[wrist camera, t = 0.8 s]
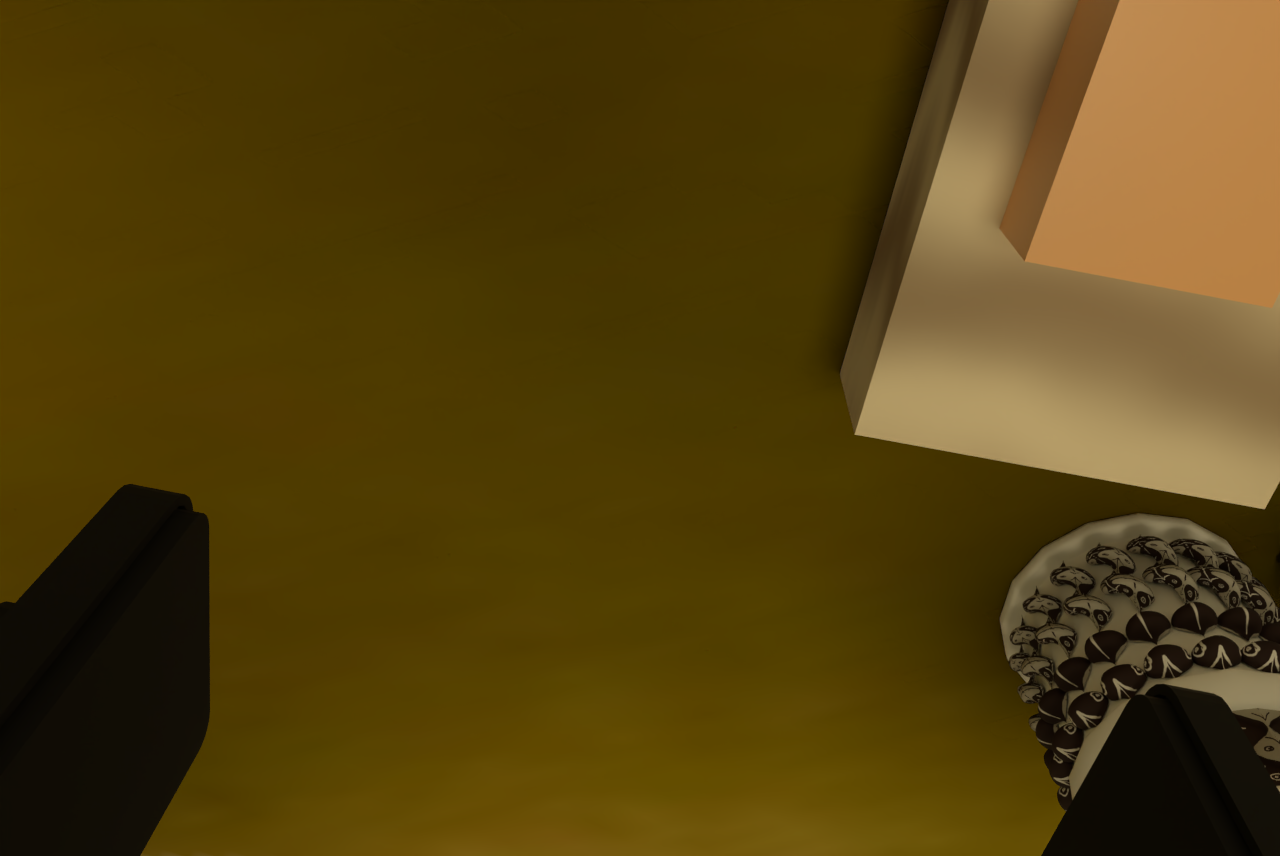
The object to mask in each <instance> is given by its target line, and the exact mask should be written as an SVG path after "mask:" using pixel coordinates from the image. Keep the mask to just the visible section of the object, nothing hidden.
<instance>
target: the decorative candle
mask: <svg viewBox="0 0 1280 856" xmlns="http://www.w3.org/2000/svg"><path fill="white" fill-rule="evenodd" d="M999 619H1000V625H1001V631H1002V637H1003V642H1004V648H1005V654H1006V657H1007V659H1008V661H1009V666H1010V667H1011V669H1013V670H1014V671H1017V672H1018V673H1019V674H1020V676H1021V677H1022V678H1023V679H1024V681H1025V682H1026V683H1024V684H1021V685H1020V686H1019V687H1018V693H1019V695H1020V697H1021V699H1022V700H1023V701H1024V702H1025V703H1029V704H1031V703H1035V702H1036V703H1039V705H1038V711H1039V713H1038V714H1036V715H1033V716H1031V717H1030V719H1029V724H1030V727H1031V728H1032V729H1033V730H1034V731H1036V736H1037V739H1038V740H1039V742H1040V743H1041V744H1042V745H1043V746H1044V747H1045V748H1047V749H1048V750H1047V751H1046V752H1045V755H1044V761H1045V764H1046V766H1047V768H1048V769H1049V772H1050V775H1051V777H1052V779H1053V781H1054V782H1055V783H1056V784H1057V785H1059V786H1060V788H1059V790H1058V793H1057V797H1058V801H1059V803H1060V805H1061V807H1062V808H1063V809H1064V810H1065V811H1067V809H1068V807H1069V806H1070V804H1071V802H1072V800H1073V799H1074V797H1075V795H1076V793H1077V791H1078V790H1079V788H1080V786H1081V784H1082V782H1083V781H1084V779H1085V777H1086V775H1087V774H1088V772H1089V770H1090V768H1091V766H1092V765H1093V763H1094V761H1095V759H1096V758H1097V756H1098V754H1099V752H1100V750H1101V749H1102V747H1103V745H1104V743H1105V742H1106V740H1107V738H1108V736H1109V734H1110V733H1111V731H1112V729H1113V727H1114V726H1115V724H1116V722H1117V720H1118V718H1119V717H1120V715H1121V713H1122V711H1123V710H1124V708H1125V706H1126V704H1127V703H1128V701H1129V700H1130V699H1131V698H1132V697H1133V696H1135V695H1137V694H1143V695H1145V694H1146V692H1147V691H1148V690H1149V689H1150V688H1151V687H1153V686H1154V685H1156V684H1167V685H1172V686H1177V687H1183V688H1188V689H1193V690H1198V691H1203V692H1208V693H1214V694H1216V695H1218V696H1220V697H1222V698H1223V700H1224V701H1225V702H1226V703H1227V704H1228V706H1229V707H1230V709H1231V711H1232V713H1233V714H1234V716H1235V718H1236V719H1237V721H1238V723H1239V724H1240V726H1241V728H1242V729H1243V731H1244V733H1245V734H1246V736H1247V738H1248V739H1249V741H1250V743H1251V745H1252V746H1253V748H1254V750H1255V751H1256V753H1257V755H1258V756H1259V758H1260V760H1261V761H1262V763H1263V765H1264V766H1265V768H1266V770H1267V771H1268V773H1269V775H1270V776H1271V778H1272V780H1273V782H1274V783H1275V785H1276V787H1277V788H1278V790H1279V792H1280V608H1278V607H1277V606H1275V603H1274V601H1273V599H1272V597H1271V596H1270V594H1269V592H1268V590H1267V589H1266V587H1265V586H1264V585H1263V584H1262V583H1261V582H1260V581H1259V580H1257V579H1256V578H1254V577H1252V573H1251V571H1250V569H1249V568H1248V566H1247V565H1246V564H1245V563H1244V562H1243V561H1241V560H1240V559H1239V558H1238V557H1237V555H1236V554H1235V552H1234V550H1233V549H1232V547H1231V546H1230V545H1229V543H1228V542H1227V541H1226V540H1225V539H1223V538H1222V537H1220V536H1218V535H1216V534H1214V533H1213V532H1211V531H1209V530H1207V529H1205V528H1203V527H1202V526H1200V525H1198V524H1196V523H1194V522H1192V521H1191V520H1189V519H1186V518H1177V517H1169V516H1161V515H1153V514H1145V513H1134V514H1129V515H1124V516H1119V517H1114V518H1109V519H1104V520H1099V521H1094V522H1089V523H1086V524H1084V525H1082V526H1080V527H1079V528H1077V529H1075V530H1073V531H1071V532H1069V533H1068V534H1066V535H1064V536H1062V537H1060V538H1058V539H1057V540H1055V541H1053V542H1051V543H1049V544H1048V545H1046V546H1044V547H1042V548H1041V549H1040V551H1039V552H1038V553H1037V554H1036V555H1035V556H1034V557H1033V558H1032V559H1031V561H1030V562H1029V563H1028V564H1027V565H1026V566H1025V567H1024V568H1023V569H1022V571H1021V572H1020V573H1019V574H1018V575H1017V576H1016V577H1015V578H1014V579H1013V580H1012V582H1011V585H1010V588H1009V591H1008V594H1007V597H1006V600H1005V603H1004V606H1003V609H1002V612H1001V615H1000V618H999Z"/></svg>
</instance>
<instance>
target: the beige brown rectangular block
mask: <svg viewBox="0 0 1280 856" xmlns="http://www.w3.org/2000/svg"><path fill="white" fill-rule="evenodd" d="M1077 3H1078V0H949V2H948V6H947V9H946V12H945V16H944V19H943V23H942V26H941V30H940V33H939V36H938V40H937V43H936V47H935V50H934V53H933V57H932V60H931V64H930V67H929V71H928V74H927V77H926V81H925V84H924V88H923V91H922V95H921V98H920V101H919V105H918V108H917V112H916V115H915V118H914V122H913V125H912V129H911V132H910V136H909V139H908V142H907V146H906V149H905V153H904V156H903V160H902V163H901V166H900V170H899V173H898V177H897V180H896V183H895V187H894V190H893V194H892V197H891V201H890V204H889V207H888V211H887V214H886V218H885V221H884V225H883V228H882V231H881V235H880V238H879V242H878V245H877V248H876V252H875V255H874V259H873V262H872V266H871V269H870V272H869V276H868V279H867V283H866V286H865V289H864V293H863V296H862V300H861V303H860V307H859V310H858V313H857V317H856V320H855V324H854V327H853V331H852V334H851V337H850V341H849V344H848V348H847V351H846V354H845V358H844V361H843V365H842V368H841V372H840V377H841V381H842V385H843V389H844V393H845V397H846V401H847V405H848V409H849V414H850V418H851V422H852V426H853V430H854V434H855V435H861V436H866V437H872V438H877V439H883V440H888V441H893V442H899V443H904V444H910V445H915V446H921V447H926V448H932V449H937V450H943V451H948V452H954V453H959V454H965V455H970V456H976V457H981V458H987V459H992V460H998V461H1003V462H1008V463H1014V464H1019V465H1025V466H1030V467H1036V468H1041V469H1047V470H1052V471H1058V472H1063V473H1069V474H1074V475H1080V476H1085V477H1091V478H1096V479H1102V480H1107V481H1113V482H1118V483H1123V484H1129V485H1134V486H1140V487H1145V488H1151V489H1156V490H1162V491H1167V492H1173V493H1178V494H1184V495H1189V496H1195V497H1200V498H1206V499H1211V500H1217V501H1222V502H1228V503H1233V504H1238V505H1244V506H1249V507H1255V508H1260V509H1265V508H1266V506H1267V504H1268V502H1269V500H1270V498H1271V497H1272V495H1273V493H1274V491H1275V489H1276V487H1277V485H1278V484H1279V482H1280V293H1279V295H1278V297H1277V299H1276V301H1275V303H1274V305H1273V307H1272V308H1269V307H1264V306H1259V305H1253V304H1248V303H1243V302H1237V301H1232V300H1227V299H1221V298H1216V297H1211V296H1205V295H1200V294H1195V293H1190V292H1184V291H1179V290H1174V289H1168V288H1163V287H1158V286H1152V285H1147V284H1142V283H1136V282H1131V281H1126V280H1121V279H1115V278H1110V277H1105V276H1099V275H1094V274H1089V273H1083V272H1078V271H1073V270H1067V269H1062V268H1057V267H1052V266H1046V265H1041V264H1036V263H1030V262H1025V261H1024V260H1023V259H1022V257H1021V256H1020V255H1019V254H1018V252H1017V251H1016V250H1015V248H1014V247H1013V246H1012V244H1011V243H1010V242H1009V241H1008V239H1007V238H1006V237H1005V235H1004V234H1003V233H1002V231H1001V230H1000V229H999V228H1000V225H1001V222H1002V220H1003V217H1004V214H1005V211H1006V208H1007V205H1008V202H1009V199H1010V196H1011V194H1012V191H1013V188H1014V185H1015V182H1016V179H1017V176H1018V173H1019V171H1020V168H1021V165H1022V162H1023V159H1024V156H1025V153H1026V150H1027V147H1028V145H1029V142H1030V139H1031V136H1032V133H1033V130H1034V127H1035V124H1036V121H1037V119H1038V116H1039V113H1040V110H1041V107H1042V104H1043V101H1044V98H1045V96H1046V93H1047V90H1048V87H1049V84H1050V81H1051V78H1052V75H1053V72H1054V70H1055V67H1056V64H1057V61H1058V58H1059V55H1060V52H1061V49H1062V46H1063V44H1064V41H1065V38H1066V35H1067V32H1068V29H1069V26H1070V23H1071V21H1072V18H1073V15H1074V12H1075V9H1076V6H1077Z"/></svg>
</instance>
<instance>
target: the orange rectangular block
mask: <svg viewBox="0 0 1280 856" xmlns="http://www.w3.org/2000/svg"><path fill="white" fill-rule="evenodd" d="M999 229H1000V230H1001V231H1002V233H1003V234H1004V235H1005V237H1006V238H1007V239H1008V241H1009V242H1010V243H1011V244H1012V246H1013V247H1014V248H1015V250H1016V251H1017V252H1018V254H1019V255H1020V256H1021V257H1022V259H1023V260H1024V261H1025V262H1030V263H1036V264H1041V265H1046V266H1052V267H1057V268H1062V269H1067V270H1073V271H1078V272H1083V273H1089V274H1094V275H1099V276H1105V277H1110V278H1115V279H1121V280H1126V281H1131V282H1136V283H1142V284H1147V285H1152V286H1158V287H1163V288H1168V289H1174V290H1179V291H1184V292H1190V293H1195V294H1200V295H1205V296H1211V297H1216V298H1221V299H1227V300H1232V301H1237V302H1243V303H1248V304H1253V305H1259V306H1264V307H1269V308H1272V307H1273V305H1274V303H1275V301H1276V299H1277V297H1278V295H1279V293H1280V0H1078V3H1077V6H1076V9H1075V12H1074V15H1073V18H1072V21H1071V23H1070V26H1069V29H1068V32H1067V35H1066V38H1065V41H1064V44H1063V46H1062V49H1061V52H1060V55H1059V58H1058V61H1057V64H1056V67H1055V70H1054V72H1053V75H1052V78H1051V81H1050V84H1049V87H1048V90H1047V93H1046V96H1045V98H1044V101H1043V104H1042V107H1041V110H1040V113H1039V116H1038V119H1037V121H1036V124H1035V127H1034V130H1033V133H1032V136H1031V139H1030V142H1029V145H1028V147H1027V150H1026V153H1025V156H1024V159H1023V162H1022V165H1021V168H1020V171H1019V173H1018V176H1017V179H1016V182H1015V185H1014V188H1013V191H1012V194H1011V196H1010V199H1009V202H1008V205H1007V208H1006V211H1005V214H1004V217H1003V220H1002V222H1001V225H1000V228H999Z"/></svg>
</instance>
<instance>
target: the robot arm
mask: <svg viewBox="0 0 1280 856" xmlns="http://www.w3.org/2000/svg"><path fill="white" fill-rule="evenodd" d="M209 714H210V648H209V522H208V518H207V516H206V515H205V514H204V513H199V512H194V511H193V507H192V502H191V500H190V497H188V496H187V495H185V494H179V493H174V492H169V491H164V490H159V489H154V488H148V487H143V486H138V485H133V484H128V485H124V486H123V487H122V488H120V489H119V490H118V491H117V492H116V493H115V494H114V495H113V496H112V497H111V498H110V500H109V501H108V502H107V503H106V504H105V505H104V506H103V507H102V508H101V509H100V511H99V512H98V513H97V514H96V515H95V516H94V517H93V518H92V519H91V520H90V522H89V523H88V524H87V525H86V526H85V527H84V528H83V529H82V530H81V531H80V533H79V534H78V535H77V536H76V537H75V538H74V539H73V540H72V541H71V542H70V544H69V545H68V546H67V547H66V548H65V549H64V550H63V551H62V552H61V553H60V555H59V556H58V557H57V558H56V559H55V560H54V561H53V562H52V563H51V564H50V566H49V567H48V568H47V569H46V570H45V571H44V572H43V573H42V574H41V575H40V577H39V578H38V579H37V580H36V581H35V582H34V583H33V584H32V585H31V586H30V587H29V589H28V590H27V591H26V592H25V593H24V594H23V595H22V596H21V597H20V598H19V600H18V601H17V602H16V603H11V602H3V603H0V856H140V855H141V853H142V851H143V850H144V848H145V846H146V844H147V842H148V841H149V839H150V837H151V835H152V834H153V832H154V830H155V828H156V826H157V825H158V823H159V821H160V819H161V818H162V816H163V814H164V812H165V810H166V809H167V807H168V805H169V803H170V802H171V800H172V798H173V796H174V794H175V793H176V791H177V789H178V787H179V786H180V784H181V782H182V780H183V778H184V777H185V775H186V773H187V771H188V770H189V768H190V766H191V764H192V762H193V761H194V759H195V757H196V755H197V753H198V752H199V749H200V747H201V745H202V743H203V740H204V737H205V734H206V731H207V727H208V722H209ZM1041 856H1280V792H1279V790H1278V788H1277V787H1276V785H1275V783H1274V782H1273V780H1272V778H1271V776H1270V775H1269V773H1268V771H1267V770H1266V768H1265V766H1264V765H1263V763H1262V761H1261V760H1260V758H1259V756H1258V755H1257V753H1256V751H1255V750H1254V748H1253V746H1252V745H1251V743H1250V741H1249V739H1248V738H1247V736H1246V734H1245V733H1244V731H1243V729H1242V728H1241V726H1240V724H1239V723H1238V721H1237V719H1236V718H1235V716H1234V714H1233V713H1232V711H1231V709H1230V707H1229V706H1228V704H1227V703H1226V702H1225V701H1224V700H1223V698H1222V697H1220V696H1218V695H1216V694H1214V693H1208V692H1203V691H1198V690H1193V689H1188V688H1183V687H1177V686H1172V685H1167V684H1156V685H1154V686H1153V687H1151V688H1150V689H1149V690H1148V691H1147V692H1146V694H1145V695H1143V694H1137V695H1135V696H1133V697H1132V698H1131V699H1130V700H1129V701H1128V703H1127V704H1126V706H1125V708H1124V710H1123V711H1122V713H1121V715H1120V717H1119V718H1118V720H1117V722H1116V724H1115V726H1114V727H1113V729H1112V731H1111V733H1110V734H1109V736H1108V738H1107V740H1106V742H1105V743H1104V745H1103V747H1102V749H1101V750H1100V752H1099V754H1098V756H1097V758H1096V759H1095V761H1094V763H1093V765H1092V766H1091V768H1090V770H1089V772H1088V774H1087V775H1086V777H1085V779H1084V781H1083V782H1082V784H1081V786H1080V788H1079V790H1078V791H1077V793H1076V795H1075V797H1074V799H1073V800H1072V802H1071V804H1070V806H1069V807H1068V809H1067V811H1066V813H1065V815H1064V816H1063V818H1062V820H1061V822H1060V823H1059V825H1058V827H1057V829H1056V831H1055V832H1054V834H1053V836H1052V838H1051V839H1050V841H1049V843H1048V845H1047V847H1046V848H1045V850H1044V852H1043V854H1042V855H1041Z"/></svg>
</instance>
